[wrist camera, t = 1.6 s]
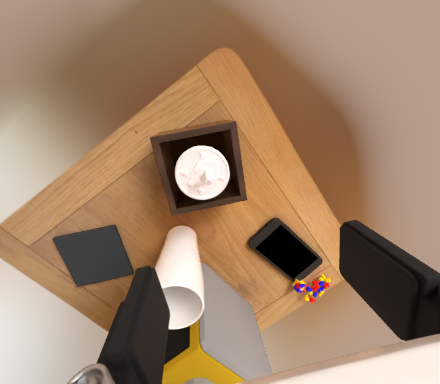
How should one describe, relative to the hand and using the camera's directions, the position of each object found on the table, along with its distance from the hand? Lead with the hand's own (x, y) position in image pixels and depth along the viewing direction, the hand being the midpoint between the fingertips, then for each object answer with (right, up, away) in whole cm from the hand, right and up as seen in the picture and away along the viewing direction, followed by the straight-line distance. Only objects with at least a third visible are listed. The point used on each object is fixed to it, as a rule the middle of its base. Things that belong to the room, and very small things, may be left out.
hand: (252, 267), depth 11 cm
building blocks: (+17, -16, +33) cm, 40 cm away
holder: (-5, +9, +23) cm, 25 cm away
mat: (-23, -7, +27) cm, 36 cm away
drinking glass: (-8, -4, +28) cm, 29 cm away
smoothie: (-5, +9, +24) cm, 26 cm away
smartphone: (+11, -7, +31) cm, 34 cm away
